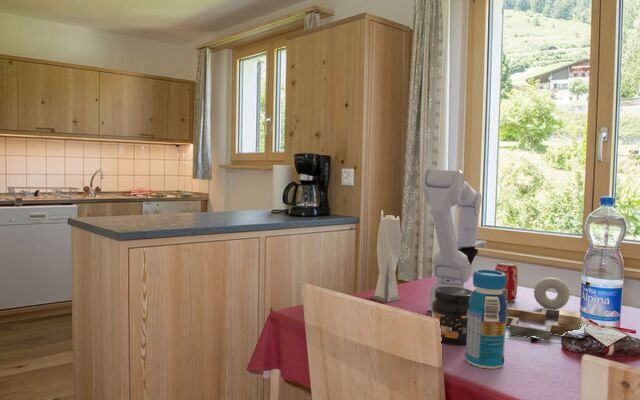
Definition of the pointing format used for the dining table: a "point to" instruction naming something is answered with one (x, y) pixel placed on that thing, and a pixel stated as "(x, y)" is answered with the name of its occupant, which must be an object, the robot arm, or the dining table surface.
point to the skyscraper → (388, 258)
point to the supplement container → (452, 313)
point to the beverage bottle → (487, 320)
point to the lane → (536, 317)
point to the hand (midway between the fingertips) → (465, 270)
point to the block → (569, 318)
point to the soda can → (509, 279)
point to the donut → (555, 284)
